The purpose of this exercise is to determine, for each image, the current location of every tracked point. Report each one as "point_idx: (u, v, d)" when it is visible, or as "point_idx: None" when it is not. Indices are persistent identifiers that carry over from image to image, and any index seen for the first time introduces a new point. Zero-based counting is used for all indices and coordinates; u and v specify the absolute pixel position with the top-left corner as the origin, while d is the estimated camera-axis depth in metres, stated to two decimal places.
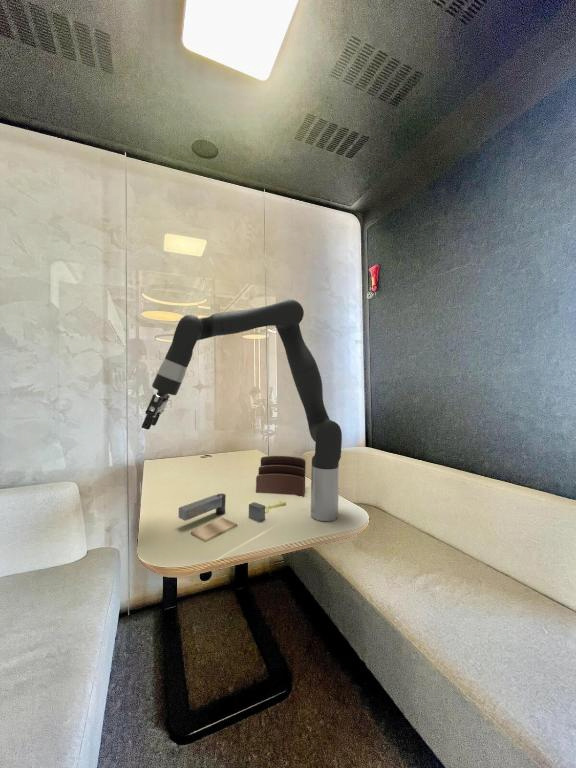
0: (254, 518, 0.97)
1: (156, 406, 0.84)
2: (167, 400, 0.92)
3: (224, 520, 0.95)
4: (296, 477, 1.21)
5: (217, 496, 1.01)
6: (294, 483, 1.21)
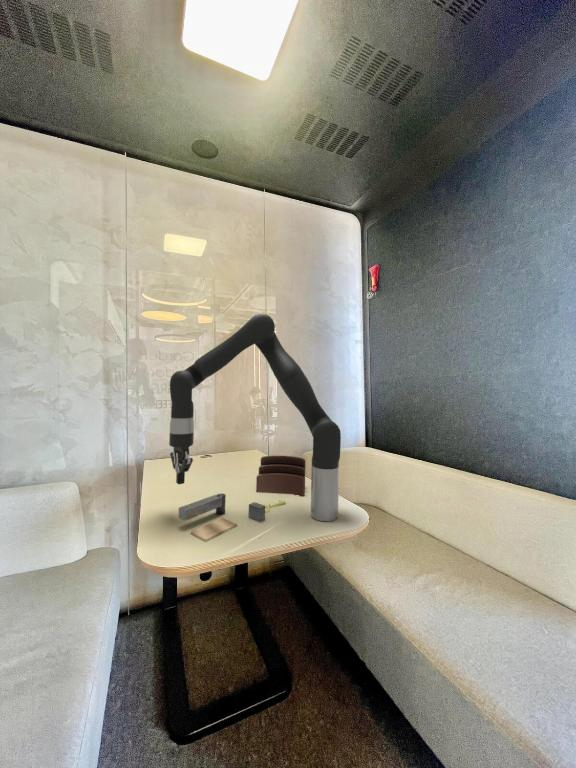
0: (254, 518, 0.97)
1: (189, 466, 0.96)
2: None
3: (224, 520, 0.95)
4: (296, 477, 1.21)
5: (217, 496, 1.01)
6: (294, 483, 1.21)
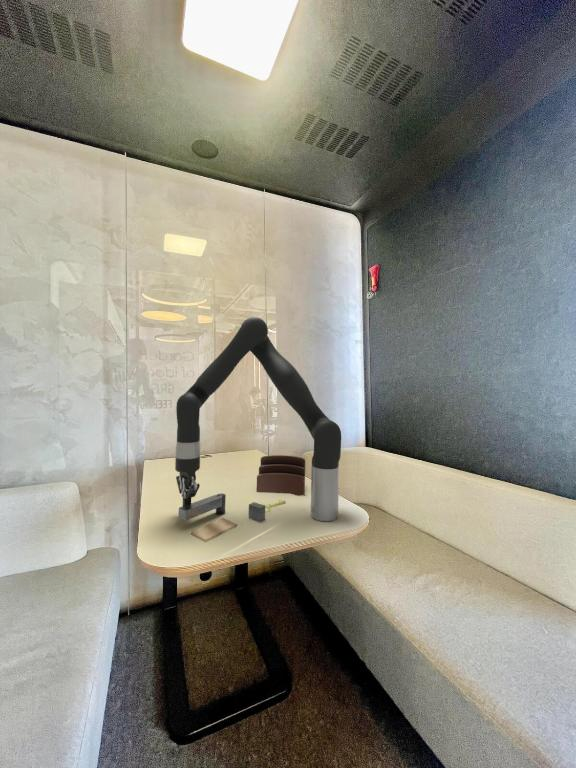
0: (254, 518, 0.97)
1: (196, 492, 0.93)
2: None
3: (224, 520, 0.95)
4: (296, 476, 1.22)
5: (217, 496, 1.01)
6: (294, 482, 1.22)
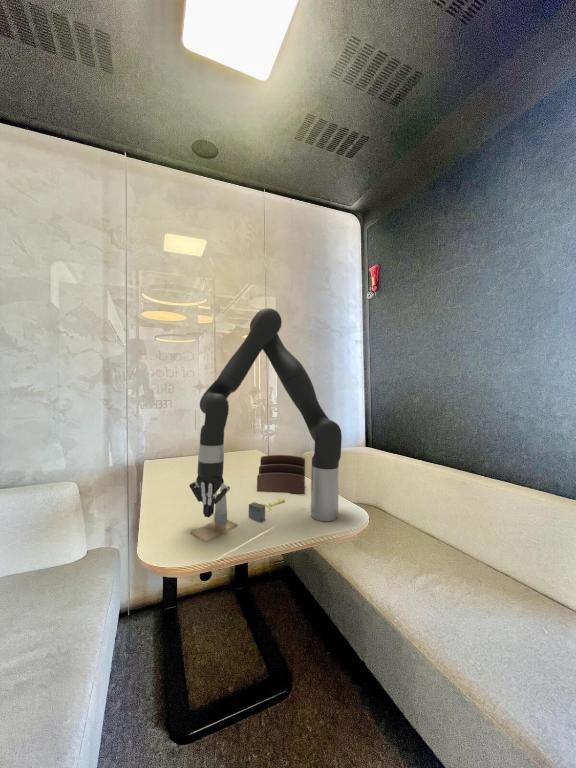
0: (254, 518, 0.97)
1: (224, 495, 0.90)
2: None
3: None
4: (297, 476, 1.22)
5: None
6: (295, 482, 1.22)
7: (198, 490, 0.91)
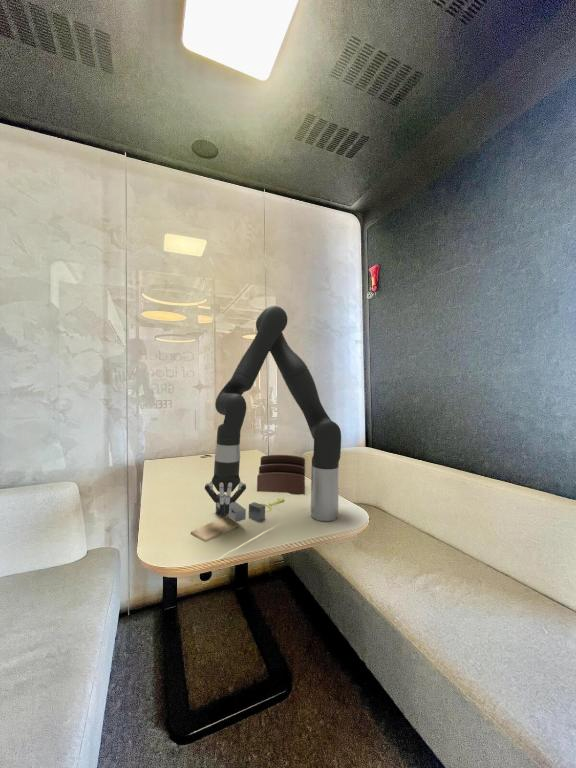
0: (254, 518, 0.97)
1: None
2: None
3: (224, 520, 0.95)
4: (297, 475, 1.23)
5: None
6: (295, 481, 1.23)
7: (213, 491, 0.90)
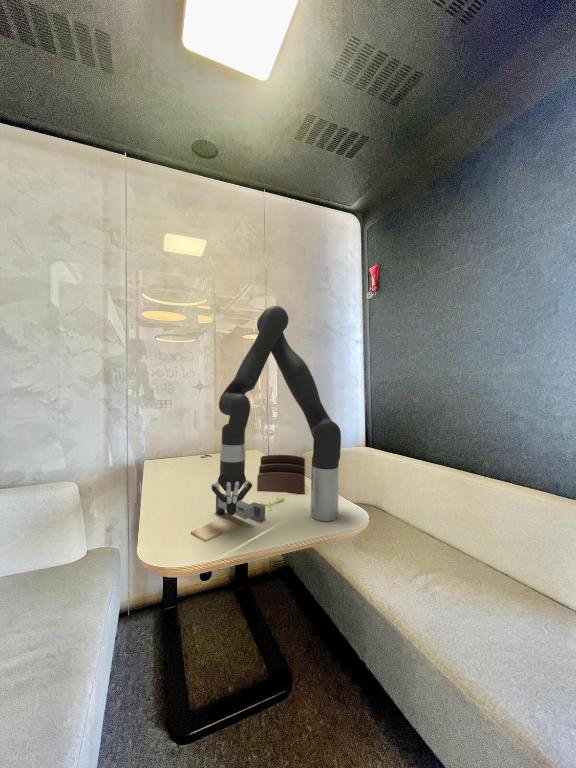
0: (254, 518, 0.97)
1: None
2: None
3: (224, 520, 0.95)
4: (297, 475, 1.23)
5: None
6: (295, 481, 1.23)
7: (219, 491, 0.91)
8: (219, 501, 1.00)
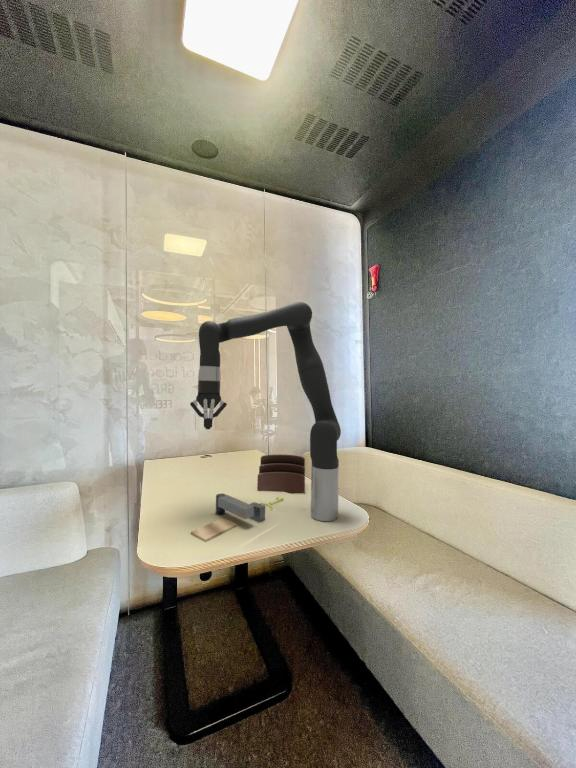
0: (254, 518, 0.97)
1: None
2: None
3: (224, 520, 0.95)
4: (297, 475, 1.24)
5: (222, 496, 1.01)
6: (295, 481, 1.24)
7: (197, 408, 1.03)
8: (219, 501, 1.00)
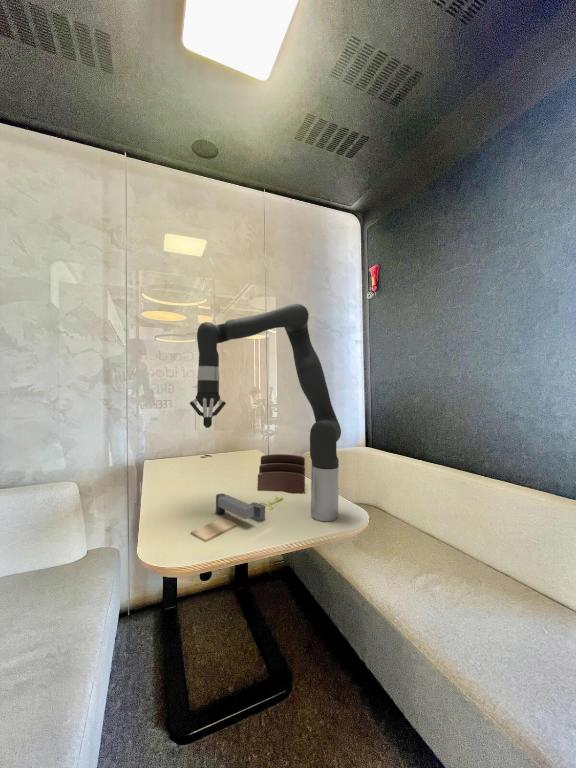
0: (254, 518, 0.97)
1: None
2: None
3: (224, 520, 0.95)
4: (297, 474, 1.24)
5: (222, 496, 1.01)
6: (295, 480, 1.24)
7: (197, 407, 1.06)
8: (219, 501, 1.00)
